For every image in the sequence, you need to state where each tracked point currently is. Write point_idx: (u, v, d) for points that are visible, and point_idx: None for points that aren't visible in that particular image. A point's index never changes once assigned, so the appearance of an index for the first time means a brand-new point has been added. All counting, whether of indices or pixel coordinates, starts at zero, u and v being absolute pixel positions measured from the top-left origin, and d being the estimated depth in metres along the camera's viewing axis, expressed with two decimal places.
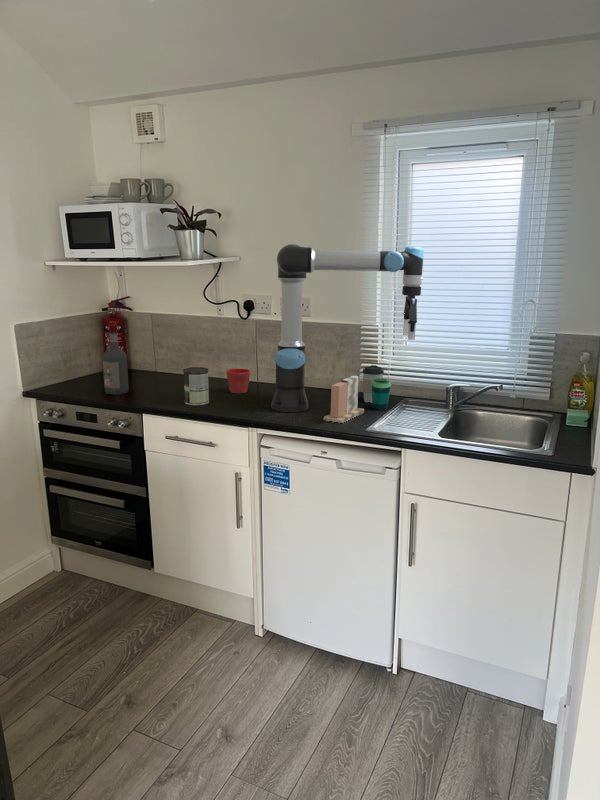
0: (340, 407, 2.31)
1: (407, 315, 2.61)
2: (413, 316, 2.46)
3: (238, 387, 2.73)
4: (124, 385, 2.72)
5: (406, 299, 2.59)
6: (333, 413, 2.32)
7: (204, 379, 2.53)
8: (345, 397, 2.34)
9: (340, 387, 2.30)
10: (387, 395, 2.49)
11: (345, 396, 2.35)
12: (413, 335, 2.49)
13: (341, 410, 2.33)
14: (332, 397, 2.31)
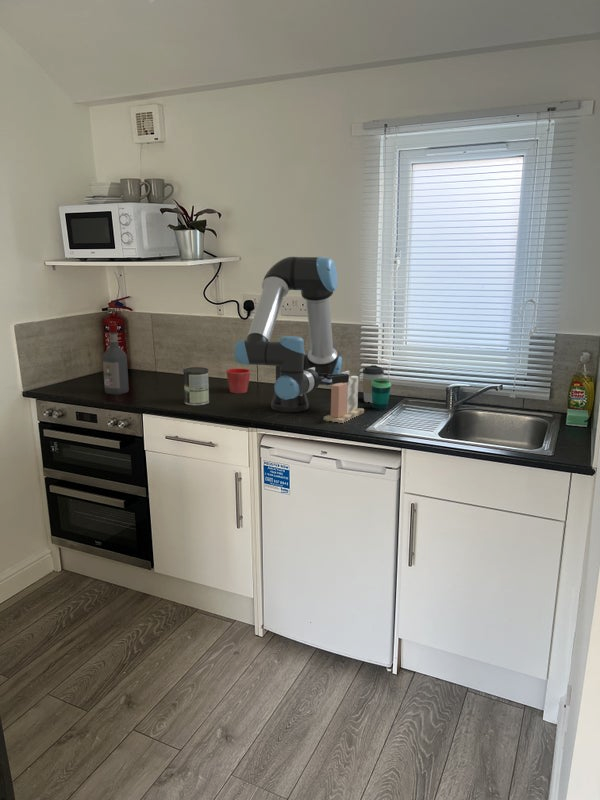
0: (340, 407, 2.31)
1: None
2: None
3: (238, 387, 2.73)
4: (124, 385, 2.72)
5: (328, 377, 2.07)
6: (333, 413, 2.32)
7: (204, 379, 2.53)
8: (345, 397, 2.34)
9: (340, 387, 2.30)
10: (387, 395, 2.49)
11: (345, 396, 2.35)
12: None
13: (341, 410, 2.33)
14: (332, 397, 2.31)
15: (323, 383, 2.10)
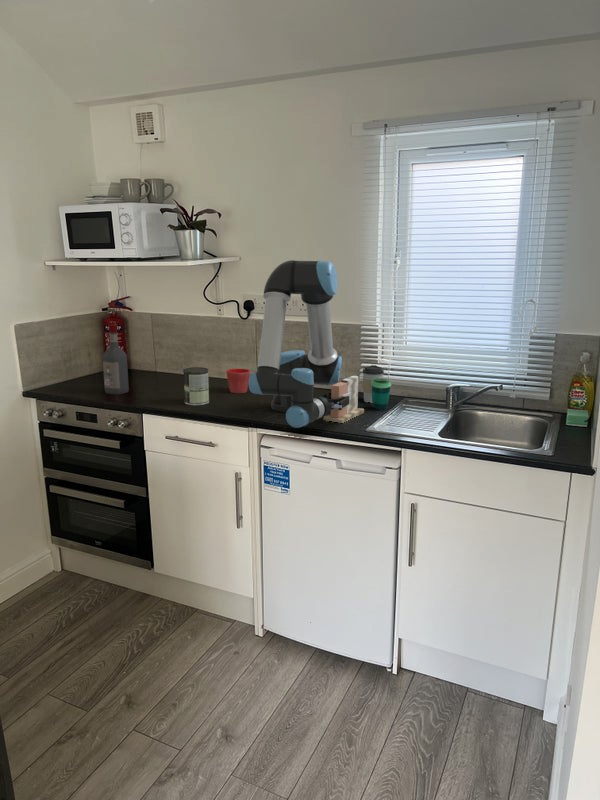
0: None
1: None
2: None
3: (238, 387, 2.73)
4: (124, 385, 2.72)
5: (338, 403, 2.22)
6: (333, 413, 2.32)
7: (204, 379, 2.53)
8: None
9: (340, 387, 2.30)
10: (387, 395, 2.49)
11: None
12: None
13: (341, 410, 2.33)
14: (332, 397, 2.31)
15: None
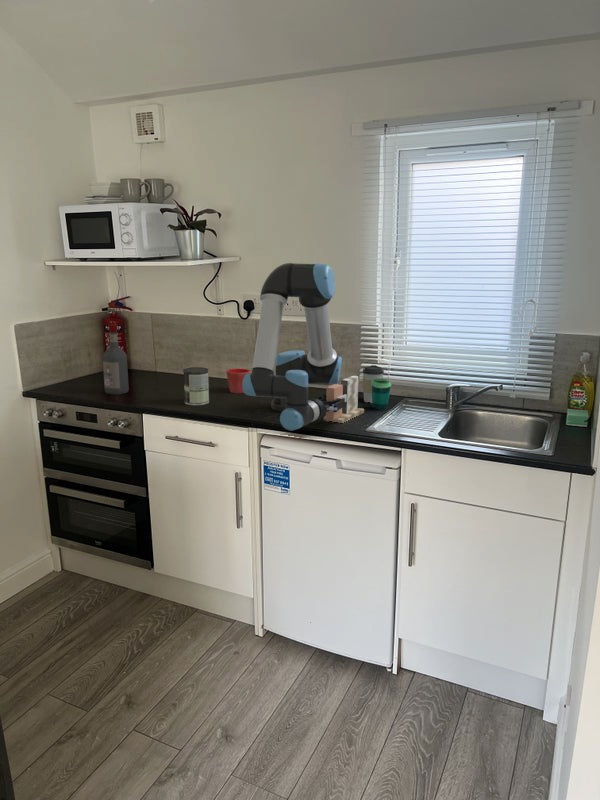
0: None
1: None
2: None
3: (238, 387, 2.73)
4: (124, 385, 2.72)
5: (333, 405, 2.19)
6: (328, 415, 2.29)
7: (204, 379, 2.53)
8: None
9: (336, 389, 2.26)
10: (387, 395, 2.49)
11: None
12: None
13: (337, 412, 2.30)
14: (327, 399, 2.27)
15: None
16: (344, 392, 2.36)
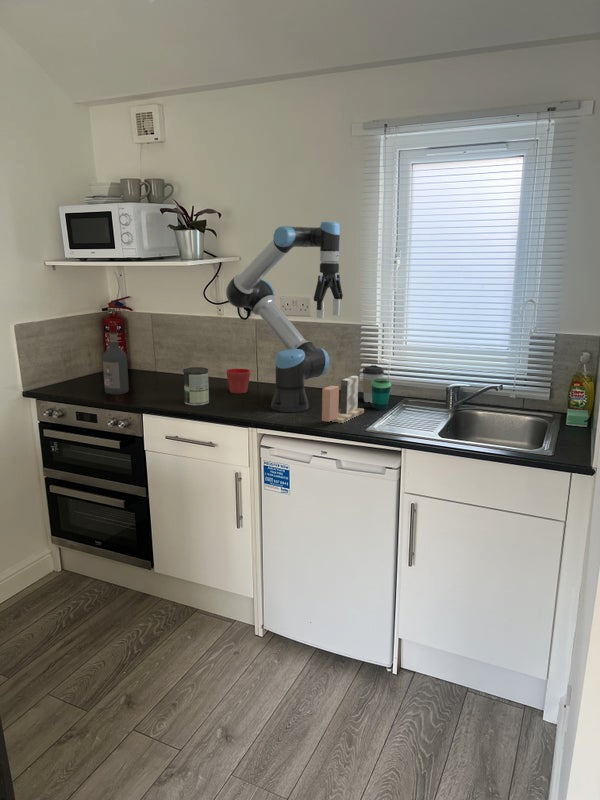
0: (331, 411, 2.26)
1: (335, 294, 2.50)
2: (317, 293, 2.37)
3: (238, 387, 2.73)
4: (124, 385, 2.72)
5: None
6: (324, 417, 2.26)
7: (204, 379, 2.53)
8: (336, 401, 2.28)
9: (332, 390, 2.24)
10: (387, 395, 2.49)
11: (337, 400, 2.29)
12: (321, 314, 2.40)
13: (333, 414, 2.27)
14: (323, 401, 2.25)
15: (336, 282, 2.46)
16: (344, 392, 2.36)
